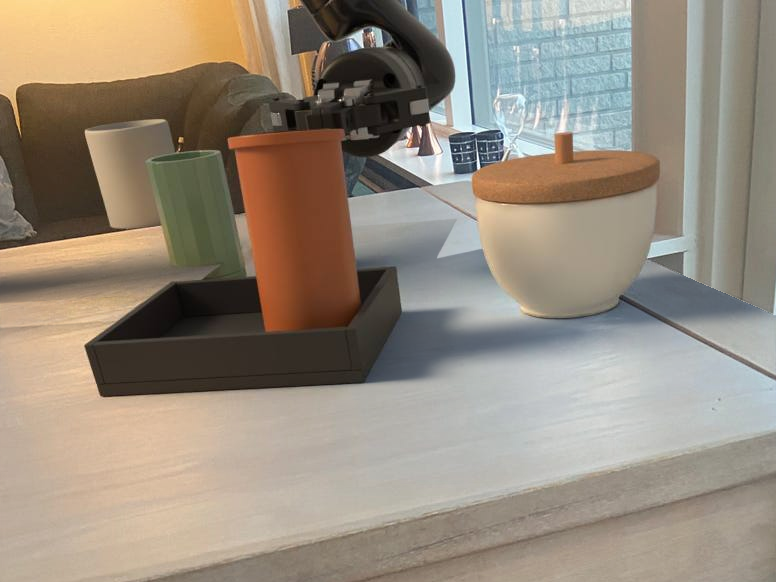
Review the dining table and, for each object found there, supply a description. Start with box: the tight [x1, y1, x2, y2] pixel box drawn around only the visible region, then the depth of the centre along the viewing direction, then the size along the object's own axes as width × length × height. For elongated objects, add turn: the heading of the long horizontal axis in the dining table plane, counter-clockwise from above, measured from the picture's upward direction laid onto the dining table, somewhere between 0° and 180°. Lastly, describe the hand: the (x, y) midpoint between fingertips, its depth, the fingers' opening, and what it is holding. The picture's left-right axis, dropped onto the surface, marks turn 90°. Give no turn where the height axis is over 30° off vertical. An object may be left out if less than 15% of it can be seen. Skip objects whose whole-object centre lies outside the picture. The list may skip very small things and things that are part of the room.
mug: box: [84, 118, 176, 229], centre depth 103 cm, size 12×8×11 cm
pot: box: [227, 128, 361, 332], centre depth 60 cm, size 7×7×12 cm
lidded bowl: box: [471, 131, 661, 319], centre depth 66 cm, size 13×13×11 cm
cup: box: [145, 149, 248, 280], centre depth 83 cm, size 6×6×10 cm
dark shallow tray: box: [83, 266, 403, 397], centre depth 65 cm, size 17×15×3 cm
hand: (323, 126), depth 66 cm, fingers closed
